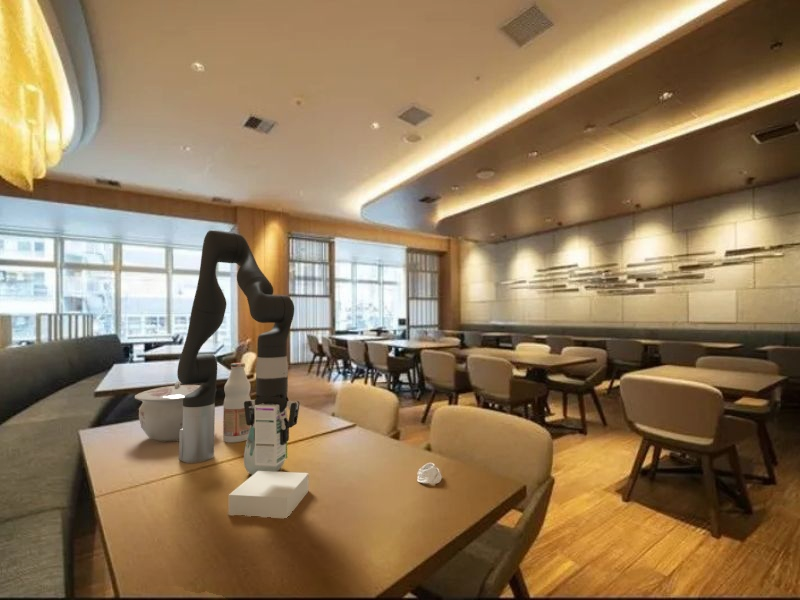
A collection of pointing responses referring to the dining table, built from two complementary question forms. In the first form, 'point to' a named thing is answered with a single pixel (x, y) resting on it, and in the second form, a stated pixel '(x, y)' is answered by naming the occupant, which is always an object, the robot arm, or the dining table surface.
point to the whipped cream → (429, 474)
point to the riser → (269, 494)
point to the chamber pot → (163, 411)
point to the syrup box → (268, 436)
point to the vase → (250, 457)
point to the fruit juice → (236, 405)
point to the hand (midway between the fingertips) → (271, 443)
